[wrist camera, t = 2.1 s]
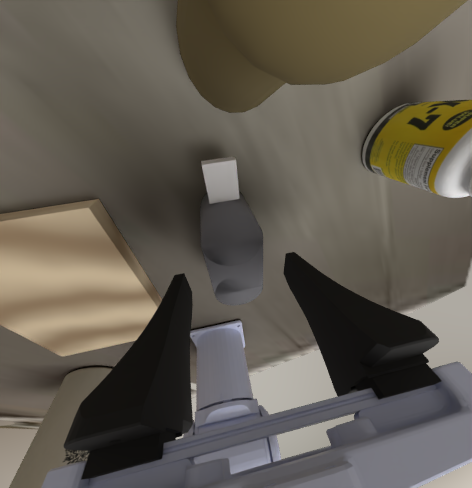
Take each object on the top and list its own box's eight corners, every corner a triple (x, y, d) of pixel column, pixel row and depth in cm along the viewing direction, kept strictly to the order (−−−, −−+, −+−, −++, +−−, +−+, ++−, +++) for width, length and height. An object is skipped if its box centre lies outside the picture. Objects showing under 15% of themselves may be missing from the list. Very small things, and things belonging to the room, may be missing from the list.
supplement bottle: (429, 91, 12) (705, 63, 6) (409, 159, 15) (573, 194, 8) (363, 118, 12) (548, 124, 6) (356, 180, 15) (474, 229, 9)
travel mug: (91, 386, 32) (6, 605, 18) (52, 375, 27) (-110, 666, 13) (132, 374, 32) (78, 584, 18) (100, 360, 27) (-10, 638, 13)
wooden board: (175, 321, 24) (174, 332, 23) (69, 344, 23) (62, 356, 21) (98, 198, 13) (88, 207, 11) (-118, 232, 12) (-154, 245, 10)
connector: (249, 262, 19) (262, 299, 15) (214, 269, 19) (219, 309, 15) (242, 148, 12) (263, 165, 8) (186, 156, 12) (181, 177, 8)
